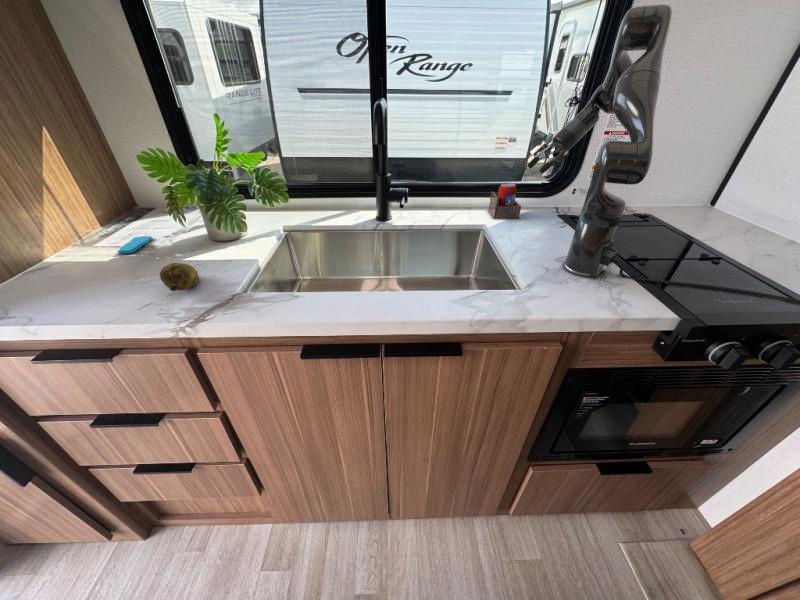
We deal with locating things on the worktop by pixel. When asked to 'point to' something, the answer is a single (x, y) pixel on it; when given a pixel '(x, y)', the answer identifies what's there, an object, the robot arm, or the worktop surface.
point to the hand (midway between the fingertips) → (534, 169)
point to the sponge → (134, 244)
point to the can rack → (503, 209)
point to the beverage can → (507, 194)
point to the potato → (179, 276)
